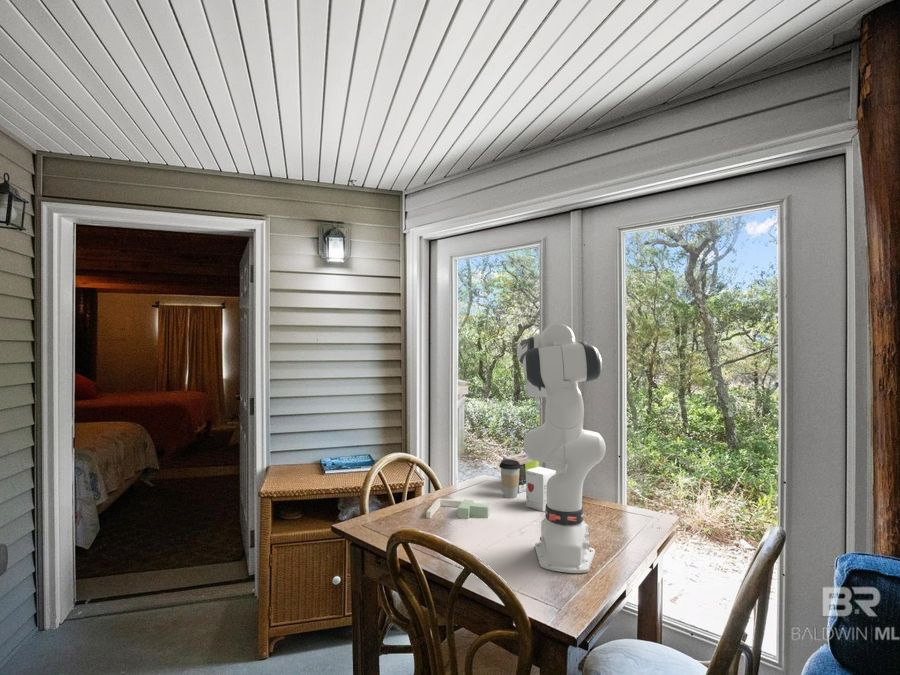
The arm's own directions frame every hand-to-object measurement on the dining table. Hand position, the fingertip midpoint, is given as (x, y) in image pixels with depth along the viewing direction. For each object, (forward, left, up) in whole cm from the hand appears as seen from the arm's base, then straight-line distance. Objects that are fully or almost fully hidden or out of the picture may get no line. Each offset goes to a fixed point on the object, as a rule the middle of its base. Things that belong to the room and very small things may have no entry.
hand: (552, 408), depth 180 cm
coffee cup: (+21, +19, -42) cm, 50 cm away
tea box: (+34, +15, -42) cm, 56 cm away
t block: (-5, +30, -42) cm, 51 cm away
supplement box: (+11, +5, -42) cm, 43 cm away
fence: (-5, +41, -42) cm, 59 cm away
